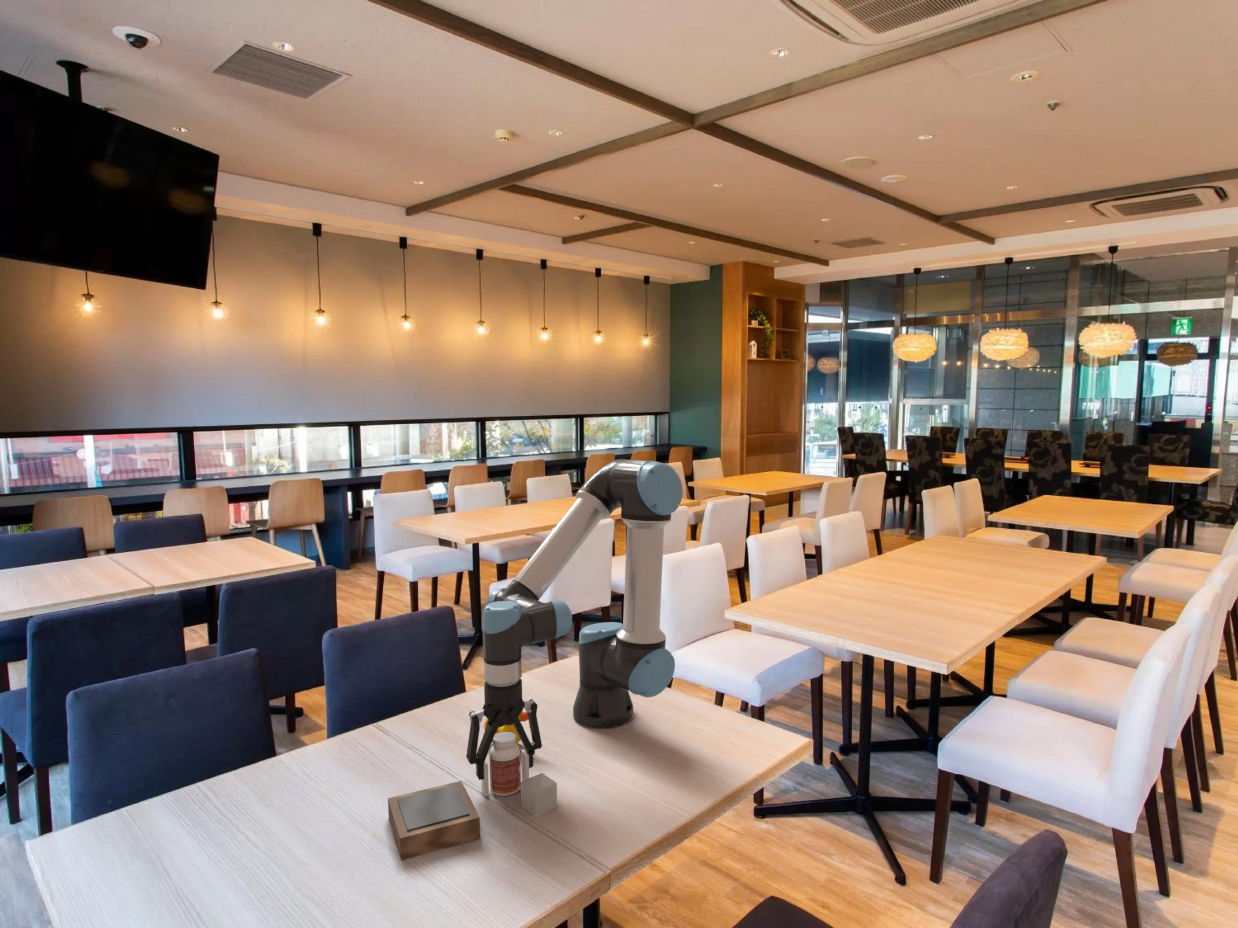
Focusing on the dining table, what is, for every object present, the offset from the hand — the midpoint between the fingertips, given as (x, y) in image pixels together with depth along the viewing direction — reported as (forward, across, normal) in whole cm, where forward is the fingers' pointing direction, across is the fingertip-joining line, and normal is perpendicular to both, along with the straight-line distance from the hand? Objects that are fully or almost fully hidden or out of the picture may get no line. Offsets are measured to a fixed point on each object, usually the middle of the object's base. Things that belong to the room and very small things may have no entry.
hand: (505, 787), depth 147 cm
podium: (0, +16, +7) cm, 17 cm away
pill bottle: (+1, 0, 0) cm, 1 cm away
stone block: (0, -4, +9) cm, 10 cm away
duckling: (+1, -6, -18) cm, 19 cm away
